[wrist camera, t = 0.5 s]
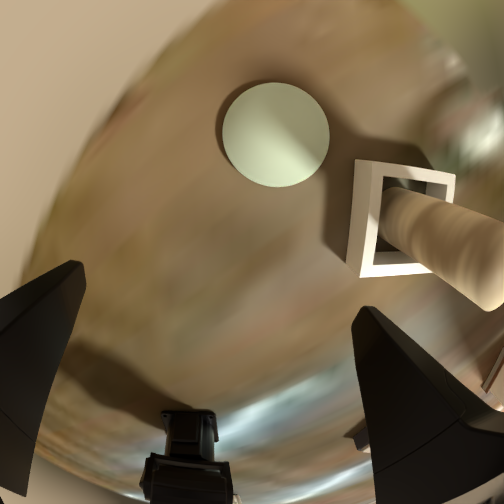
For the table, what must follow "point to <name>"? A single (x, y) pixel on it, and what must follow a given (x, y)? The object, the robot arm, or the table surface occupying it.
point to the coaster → (276, 134)
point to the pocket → (368, 212)
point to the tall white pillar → (496, 379)
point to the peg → (447, 242)
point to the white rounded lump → (236, 499)
